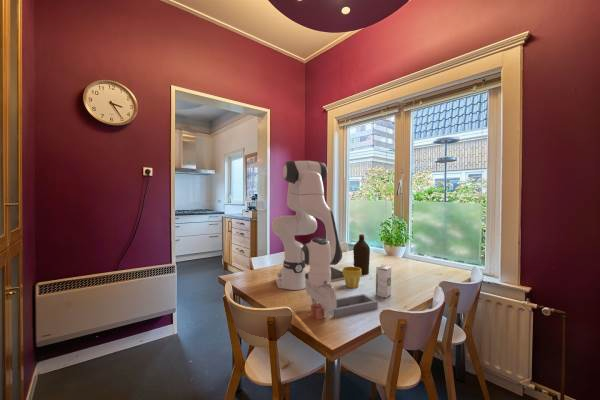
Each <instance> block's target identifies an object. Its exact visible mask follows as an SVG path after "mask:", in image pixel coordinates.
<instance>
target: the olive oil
mask: <svg viewBox="0 0 600 400" xmlns="http://www.w3.org/2000/svg"><path fill="white" fill-rule="evenodd" d="M352 250H353V252H352V254H353V264H352V265H353V267H358V268H361V271H362V274H361V276H363V275H365V276H366V275H369V273H370V257H371V248H370V245H369V244H368V243H367V241H365V234H363V233H362V234H359V235H358V241H357V242H356V243H355V244H354V245H353V249H352Z"/></svg>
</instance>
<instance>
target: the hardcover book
mask: <svg viewBox="0 0 600 400" xmlns="http://www.w3.org/2000/svg"><path fill="white" fill-rule="evenodd" d="M330 268H331V283H332V282H337V281H341V280H342V281H343V280H345V278H344V275H343V270H340V269H337V268H335V267H332V266H330Z"/></svg>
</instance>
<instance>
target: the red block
mask: <svg viewBox="0 0 600 400" xmlns="http://www.w3.org/2000/svg"><path fill="white" fill-rule="evenodd" d="M324 310H325V309H324V307H323V306H322V305H321V304H319V303H318V302H317V304H313V305H312V304H311V305H310V315H311V316H312V317H313V318H314V319H315V320H317V321H318V320H323V319H325V318H324V317H323V312H324Z"/></svg>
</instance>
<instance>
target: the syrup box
mask: <svg viewBox="0 0 600 400" xmlns="http://www.w3.org/2000/svg"><path fill="white" fill-rule="evenodd" d="M375 272H376V275H375V296H377V297H381V298H385V299H387V298H389V296H391V295H392V266H390V265H386V264H385V265H384V264H380V265H378V266H376V269H375Z"/></svg>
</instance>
